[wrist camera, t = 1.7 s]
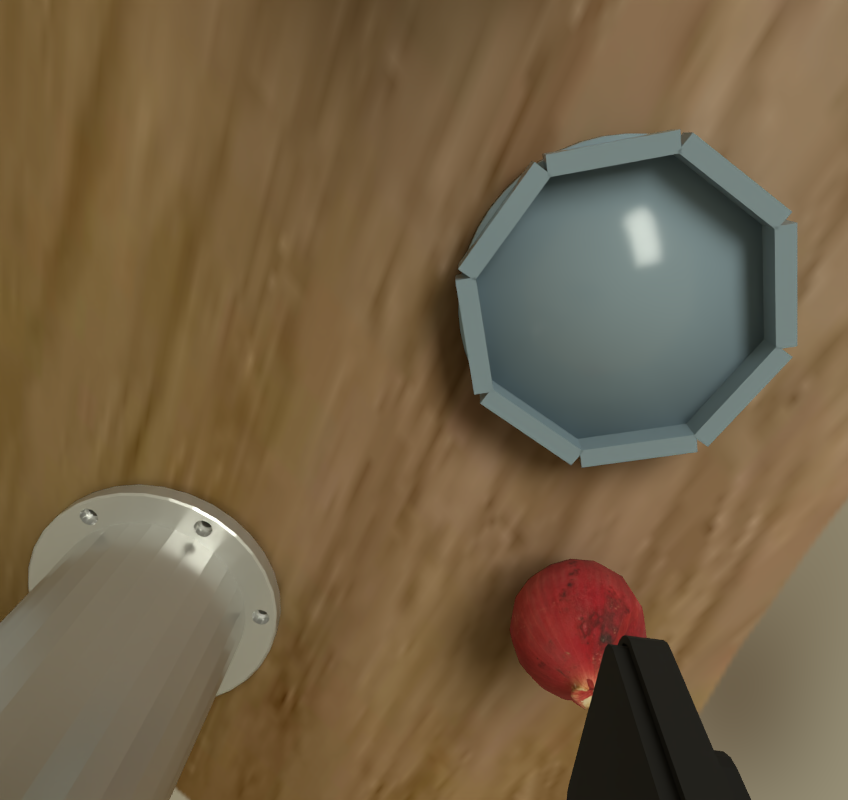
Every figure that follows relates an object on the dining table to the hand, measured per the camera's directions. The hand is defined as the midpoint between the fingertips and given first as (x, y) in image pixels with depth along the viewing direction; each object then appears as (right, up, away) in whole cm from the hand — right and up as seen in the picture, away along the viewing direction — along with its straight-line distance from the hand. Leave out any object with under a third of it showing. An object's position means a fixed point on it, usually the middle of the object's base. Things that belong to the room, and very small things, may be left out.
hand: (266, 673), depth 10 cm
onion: (+9, -5, +25) cm, 27 cm away
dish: (+10, +8, +20) cm, 24 cm away
